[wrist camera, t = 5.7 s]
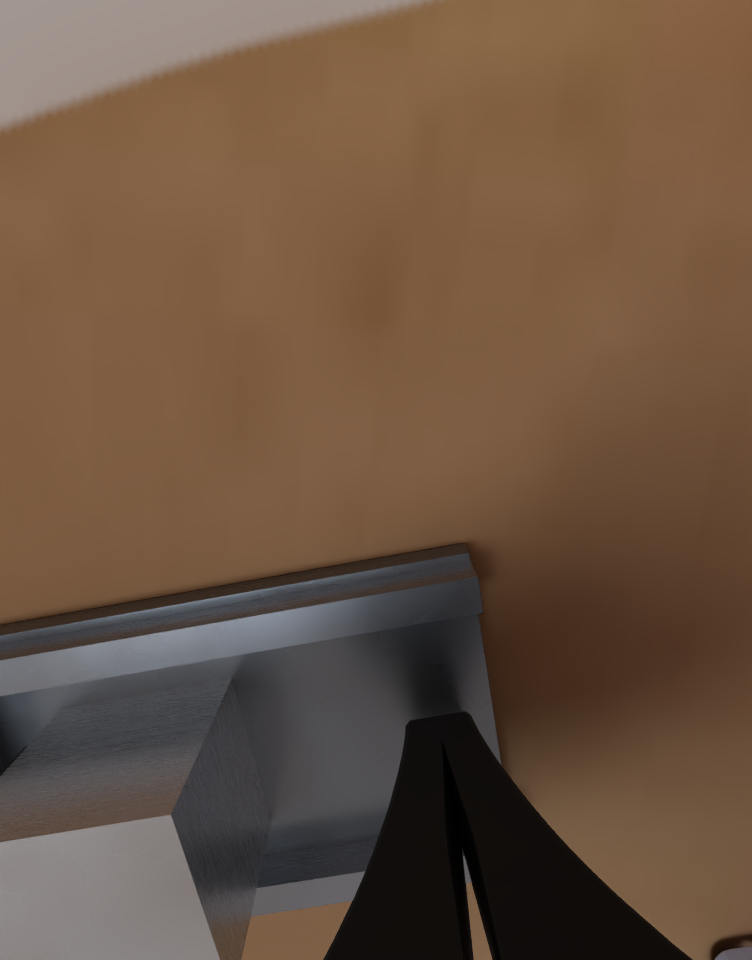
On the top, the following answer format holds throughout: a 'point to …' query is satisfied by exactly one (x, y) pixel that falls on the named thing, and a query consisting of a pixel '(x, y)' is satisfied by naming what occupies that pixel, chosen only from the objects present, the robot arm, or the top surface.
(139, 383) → the top surface
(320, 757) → the rail
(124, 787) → the free white block
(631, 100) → the top surface
